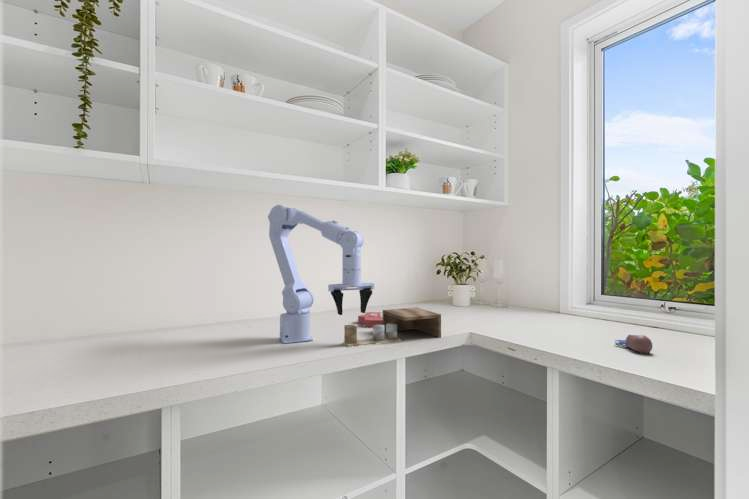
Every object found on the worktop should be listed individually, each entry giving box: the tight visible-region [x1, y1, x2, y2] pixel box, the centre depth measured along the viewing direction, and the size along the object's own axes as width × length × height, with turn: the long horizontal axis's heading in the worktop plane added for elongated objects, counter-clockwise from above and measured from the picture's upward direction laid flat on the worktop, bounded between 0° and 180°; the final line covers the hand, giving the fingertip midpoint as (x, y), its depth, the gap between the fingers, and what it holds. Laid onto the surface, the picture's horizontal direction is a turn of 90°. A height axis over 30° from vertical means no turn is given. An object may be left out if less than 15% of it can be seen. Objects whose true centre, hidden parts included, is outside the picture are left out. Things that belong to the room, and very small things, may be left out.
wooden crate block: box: [382, 307, 442, 339], centre depth 117 cm, size 14×16×8 cm
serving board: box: [343, 324, 401, 348], centre depth 107 cm, size 18×5×6 cm, turn 112°
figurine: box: [614, 334, 653, 355], centre depth 99 cm, size 5×5×12 cm
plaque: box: [357, 311, 383, 329], centre depth 137 cm, size 18×4×15 cm
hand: (351, 313), depth 105 cm, fingers open, 7 cm apart
